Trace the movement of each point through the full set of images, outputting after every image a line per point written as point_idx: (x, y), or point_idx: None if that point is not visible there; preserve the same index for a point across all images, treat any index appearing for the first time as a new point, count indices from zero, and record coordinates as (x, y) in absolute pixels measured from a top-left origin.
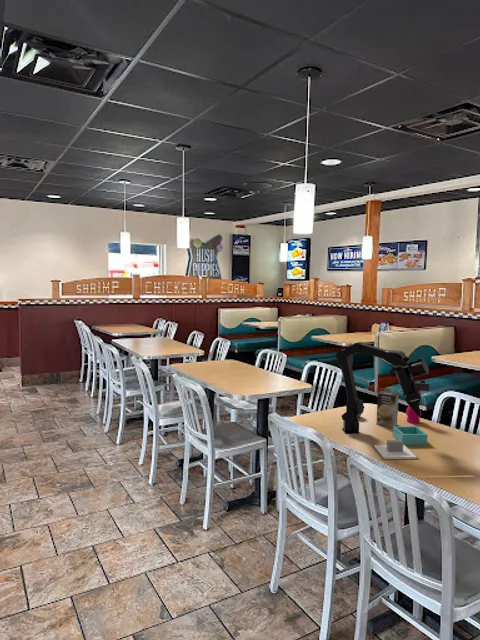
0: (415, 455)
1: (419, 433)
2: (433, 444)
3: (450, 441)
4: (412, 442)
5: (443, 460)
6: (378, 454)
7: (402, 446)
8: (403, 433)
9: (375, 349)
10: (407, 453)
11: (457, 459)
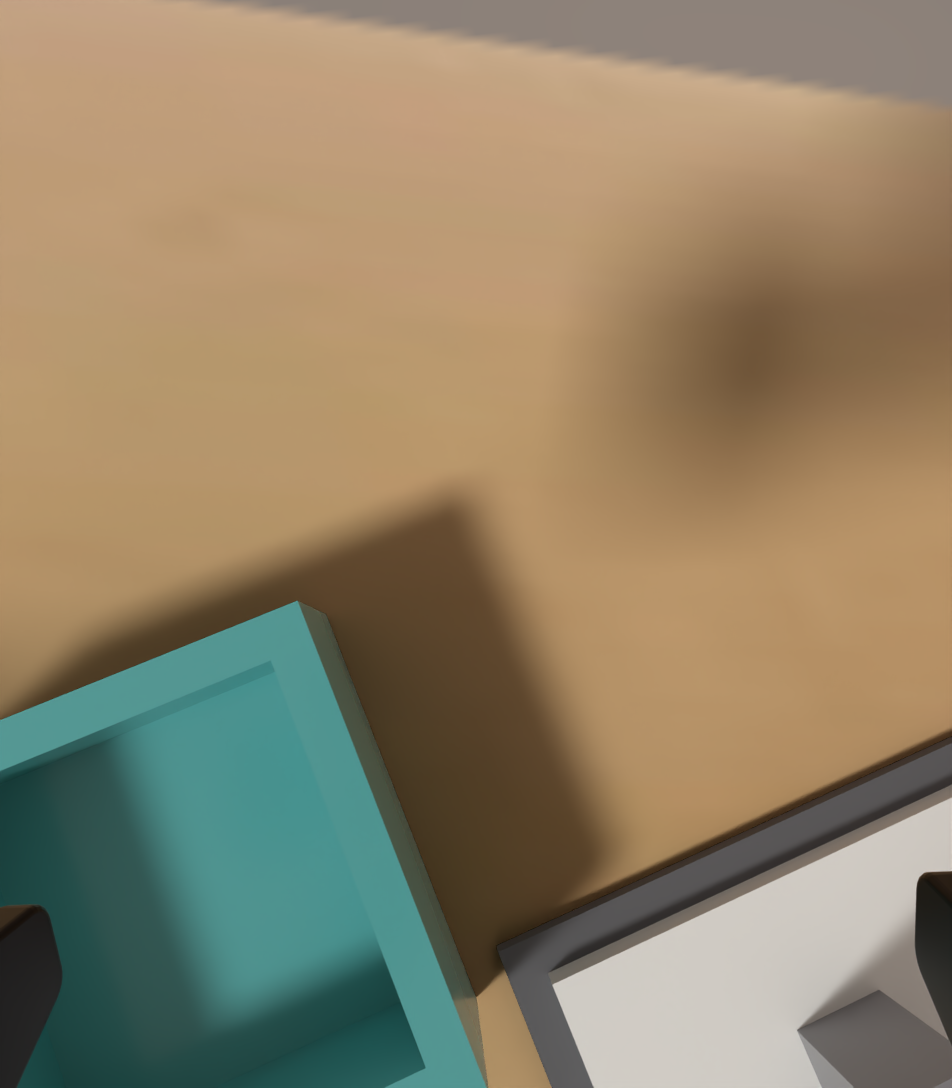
0: (858, 788)
1: (92, 738)
2: (230, 517)
3: (7, 269)
4: (411, 846)
5: (820, 424)
6: None
7: (936, 1037)
8: None
9: None
10: None
11: (710, 253)
